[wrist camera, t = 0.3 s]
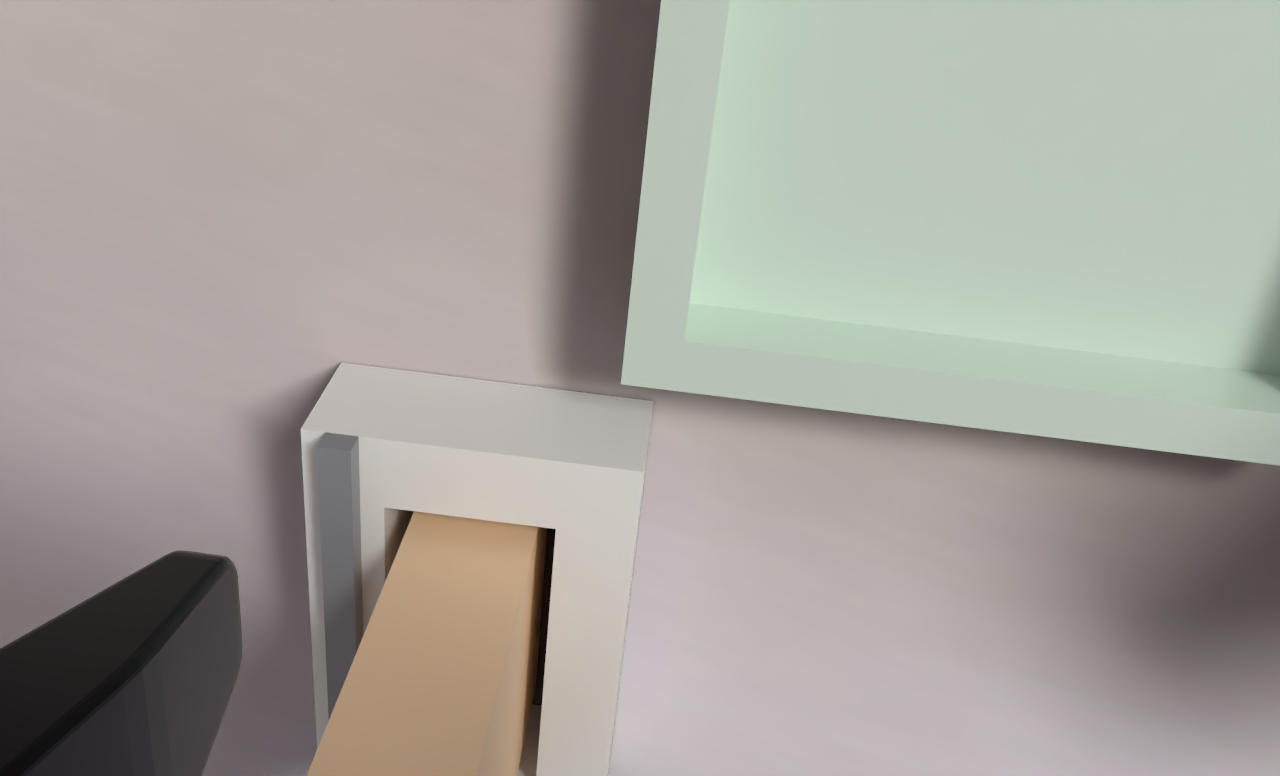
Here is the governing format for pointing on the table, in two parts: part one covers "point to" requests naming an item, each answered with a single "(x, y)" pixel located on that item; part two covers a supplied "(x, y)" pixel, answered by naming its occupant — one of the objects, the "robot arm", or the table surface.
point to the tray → (970, 215)
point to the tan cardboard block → (444, 656)
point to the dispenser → (487, 490)
